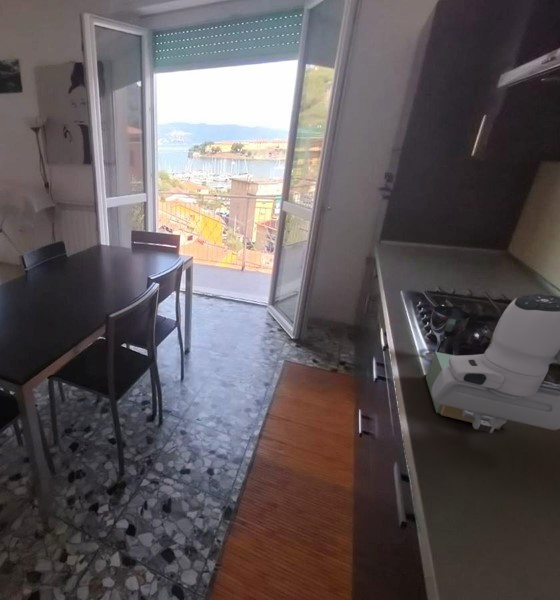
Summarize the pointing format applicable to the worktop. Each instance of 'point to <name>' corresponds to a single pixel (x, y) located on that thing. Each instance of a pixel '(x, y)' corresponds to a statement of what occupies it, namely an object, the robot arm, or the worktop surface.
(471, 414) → the drawer
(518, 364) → the robot arm
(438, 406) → the cabinet
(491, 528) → the worktop surface
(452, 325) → the wine glass
